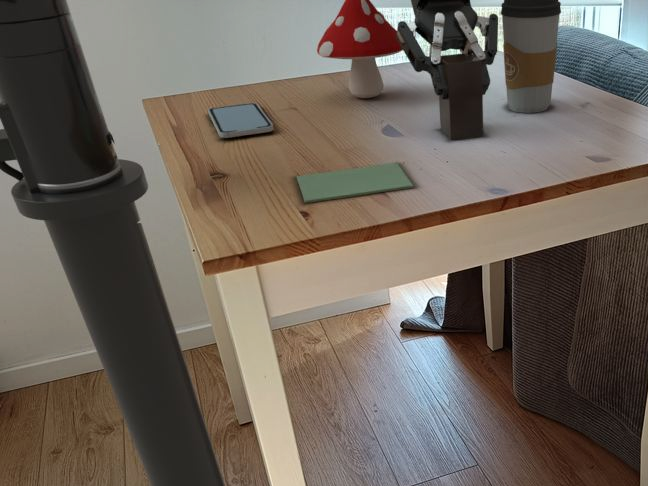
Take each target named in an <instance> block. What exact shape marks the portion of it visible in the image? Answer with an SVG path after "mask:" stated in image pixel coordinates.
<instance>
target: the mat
mask: <svg viewBox="0 0 648 486" xmlns="http://www.w3.org/2000/svg"><path fill="white" fill-rule="evenodd" d="M296 180H297V183H298V184H297V185H298V186H299V190H300V193H301V195H302V199H303V201H304V204H309V203H318V202H323V201H329V200H331V201H332V200H337V199H344V198H350V197H351V198H352V197H359V196H366V195H371V194H372V195H373V194H379V193H380V194H381V193H386V192H394V191H400V190H407V189H412V188H414V185H413V183H412V182H411V180H410V178H409V177H408V176H407V175H406V173H405V172H404V170H403V169H402V167H401V166H400V165H399V163H398V162H392V163H384V164H377V165H369V166H362V167H354V168H346V169H339V170H332V171H326V172H325V171H324V172H317V173H310V174H302V175H296Z"/></svg>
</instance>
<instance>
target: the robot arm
mask: <svg viewBox="0 0 648 486" xmlns="http://www.w3.org/2000/svg"><path fill="white" fill-rule="evenodd" d="M410 2H411V3H410V4H411V6H412V11H413V15H414V21H411V22H408V23H407V22H406V21H404V20H400V21H398V24H397V28H396V30H397V35H396V39H397V40H398V42H399V44H400V46H401V47H402V49H403V51H402V52H403V53H404V55H405V56H406V58H407V59H408V61H409V63H410V65H411V67H412V68H413V70H414V71H415V72H417V73H421V72H426V73H428V74H429V75H430V79H431V82H432V87H433V90H434V93H435V94H436V96H438V97H439V95H440V97H441V99H447V97H448V94H449V88H448V84H447V80H446V76H445V72H444V68H443V65H440V60H441V56H442V52H446V51H448V50H456V51H457V50H459V52H460V54H463V53H471V54H472V55H474V56H476V57H477V58H479V59H481V60H482V89H483V96H485V95H486V93H487V91H488V90H489V87H490V84H491V77H490V74H489V69H488V66H492V65H493V64H494V62H495V57H496V56H497V53H498V48H499V47H498V46H499V45H498V43H499V42H498V41H499V16H498V15H497V14H496V13H491V14H489V16H488V17H487V16H483V15H478V13H477V11H476V10H475V9H474V8H473V7H472V4H471V0H410ZM476 27H477V28H478V29H479V32H480V34H481V36H482V37H484V49H483V48H482V46H481V45H480V43H479V39H478V36H477V35H476V33H475V32H474V30H475V29H476ZM417 34H418V35H419V36H420V37H421V38H422V39H423V40H425V41H426V42H427V43H428V45H429V53H428V54H429V55H426V54H425V52H424V50H423V49H422V47H421V46H420V43H419V42H418V40H417V39H416V37H417ZM0 122H1V125H2V128H1V129H0V171H2V172H3V173H5V174H6V175H8V176H10V177H12V178H13V179H15V180H17V181H18V182H19V181H21V180H22V179H23V178H24V179H25V181H26V184H27V186H28V189H29V191H30V193H31V194H33V193H48V194H67V193H75V192H81V191H86V190H90V189H94V188H98V187H101V186H104V185H106V184H108V183H111V182H113V181H114V180H116V179H118V178H119V177H120V176H121V175H122V169H121V165H120V162H119V161H118V159H119V158H118V155H117V153H116V150H115V147H114V145H116V143H115V139H114V137H113V134H112V133H111V132H110V131H109V127H108V124H107V122H106V119H105V116H104V111H103V109H102V105H101V103H100V100H99V97H98V94H97V90H96V88H95V83H94V82H93V79H92V76H91V72H90V69H89V66H88V62H87V60H86V56H85V54H84V51H83V47H82V44H81V41H80V37H79V34H78V32H77V29H76V25H75V21H74V19H73V17H72V13H71V12H70V7H69V4H68V0H0ZM9 161H17V164H18V166H19V169H20V170H18V169H16V168H14V167H12V166H11V165H9V164H8V163H7V162H9Z"/></svg>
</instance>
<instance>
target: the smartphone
mask: <svg viewBox="0 0 648 486" xmlns="http://www.w3.org/2000/svg"><path fill="white" fill-rule="evenodd" d="M207 112H208V116H209V118H210V119H211V121H212V123H213V126H214V128H215V130H216V132H217V134H218V136H219V138H221V139H229V138H236V137H243V136H249V135H256V134H263V133H269V132H270V133H271V132H272V131H274V130H275V129H274V124H273V122H272V121H271V120H270V118H269V117H268V116H267V115H266V114H265V112H264V111H263V109H262V108H261V107H260V106H259V104H258V103H256V102H248V103H247V102H246V103H239V104H231V105H225V106H215V107H210V108H208V109H207Z"/></svg>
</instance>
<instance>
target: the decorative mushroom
mask: <svg viewBox="0 0 648 486" xmlns="http://www.w3.org/2000/svg"><path fill="white" fill-rule="evenodd" d="M396 35H397V28H395V27H394V26H393V25H391V23H390V22H389V21H388V20H387V19H386V17H385V15H384V14H383V13H382V11H379V10H378V9H377V8H376V6H375V5H374V4H373V2H372V1H371V0H344V2H343V4H342V6H341V8H340V9H339V11H338V13H337V15H336V17H335V18H334V20H333V21H332V22H331V23H330V24H329V25H328V26H326V28H325V30H324V32H323V35H322V37H321V38H320V40H319V42H318V44H317V49H316V53H317V54H318V56H320V57H321V58H329V59H334V60H351V65H350V71H349V78H348V90H349V93H350V94H351V95H353V96H354V97H357V98H358V99H372V98H376V97H377V96H379V95H381V94H382V93H383V91H384V87H385V85H384V81H383V78H382V75H381V72H380V69H379V66H378V64H377V61H376V59H378V58H383V57H389V56H394V55H396V54H399V53H401V52H404V51H403V49H402V47H401V46H400V44H399V42H398V40H397V39H396Z"/></svg>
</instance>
